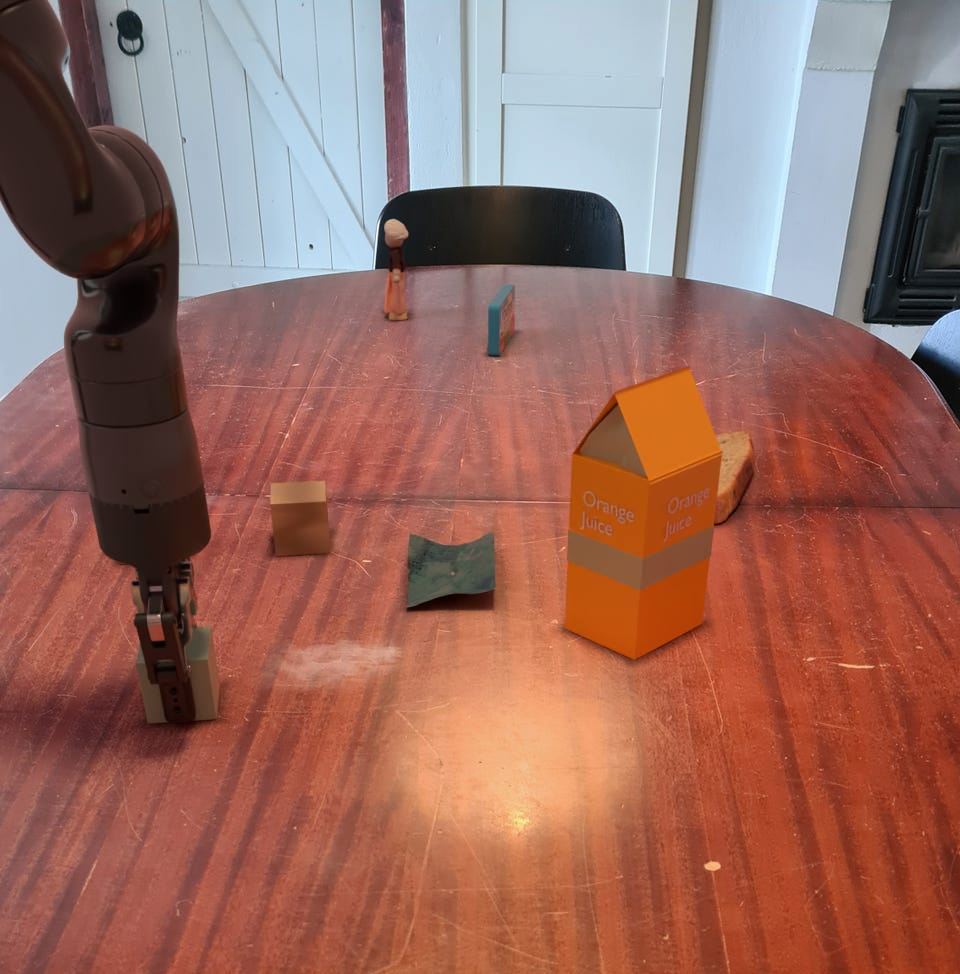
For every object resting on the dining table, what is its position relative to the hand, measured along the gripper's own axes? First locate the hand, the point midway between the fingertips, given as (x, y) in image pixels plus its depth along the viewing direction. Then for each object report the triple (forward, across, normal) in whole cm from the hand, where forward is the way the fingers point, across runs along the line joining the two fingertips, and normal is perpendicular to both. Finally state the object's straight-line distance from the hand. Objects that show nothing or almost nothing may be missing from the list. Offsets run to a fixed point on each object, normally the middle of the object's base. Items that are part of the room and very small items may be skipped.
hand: (184, 699), depth 92 cm
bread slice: (+1, -38, +50) cm, 63 cm away
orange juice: (+1, -8, +36) cm, 37 cm away
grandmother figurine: (+1, -105, +23) cm, 107 cm away
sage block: (0, 0, 0) cm, 0 cm away
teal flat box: (+1, -90, +36) cm, 97 cm away
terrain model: (+1, -19, +22) cm, 29 cm away
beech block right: (0, -28, +9) cm, 29 cm away
